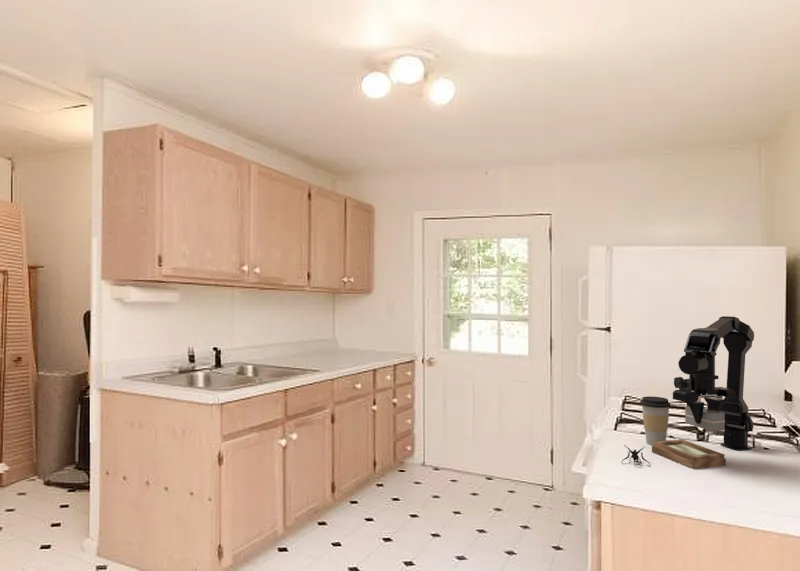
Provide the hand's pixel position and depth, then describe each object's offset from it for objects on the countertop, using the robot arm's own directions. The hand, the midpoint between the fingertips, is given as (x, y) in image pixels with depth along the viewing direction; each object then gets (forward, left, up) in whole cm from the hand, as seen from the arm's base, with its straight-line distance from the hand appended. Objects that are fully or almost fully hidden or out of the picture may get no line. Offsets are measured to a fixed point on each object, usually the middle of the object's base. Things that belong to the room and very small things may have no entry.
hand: (704, 423), depth 163 cm
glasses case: (0, 0, -1) cm, 1 cm away
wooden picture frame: (+3, -4, -12) cm, 13 cm away
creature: (+21, -4, -12) cm, 25 cm away
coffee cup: (+1, -20, -12) cm, 23 cm away
